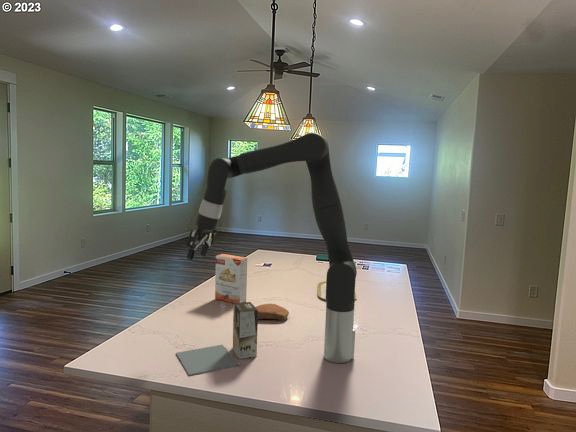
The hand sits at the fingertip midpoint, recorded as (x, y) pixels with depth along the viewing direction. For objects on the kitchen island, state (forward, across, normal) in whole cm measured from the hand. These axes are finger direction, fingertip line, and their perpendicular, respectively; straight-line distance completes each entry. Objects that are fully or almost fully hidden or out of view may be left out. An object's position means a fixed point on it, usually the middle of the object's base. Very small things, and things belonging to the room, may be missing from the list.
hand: (196, 257), depth 148 cm
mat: (+26, -11, -20) cm, 35 cm away
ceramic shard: (+24, +33, -23) cm, 47 cm away
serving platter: (+17, +80, -38) cm, 91 cm away
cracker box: (+30, +45, +1) cm, 54 cm away
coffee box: (+24, -1, -28) cm, 37 cm away
